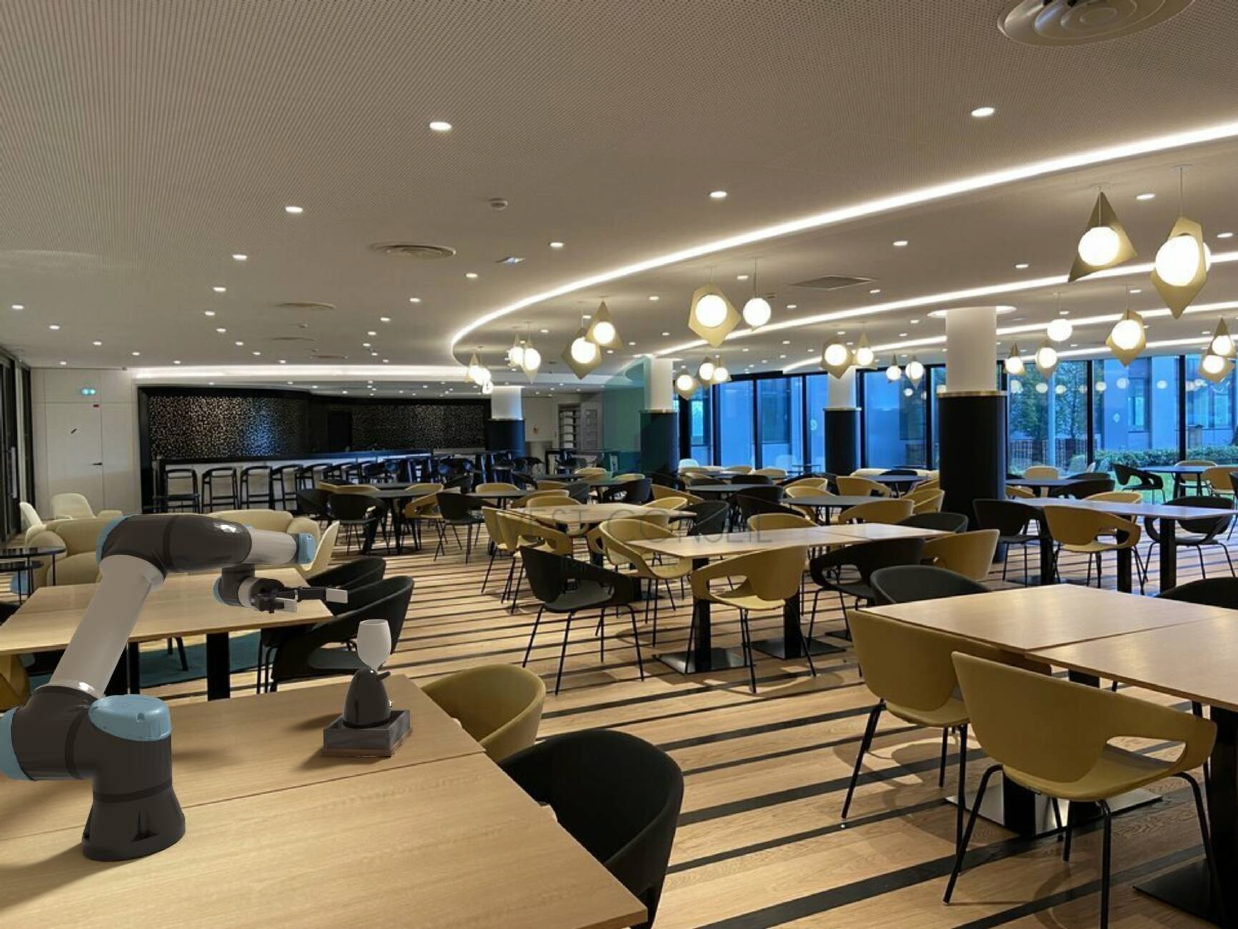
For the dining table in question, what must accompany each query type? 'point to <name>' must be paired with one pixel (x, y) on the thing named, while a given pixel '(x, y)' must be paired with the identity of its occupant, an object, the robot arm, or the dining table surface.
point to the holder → (367, 737)
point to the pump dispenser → (367, 701)
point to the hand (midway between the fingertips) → (321, 601)
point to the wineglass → (374, 642)
